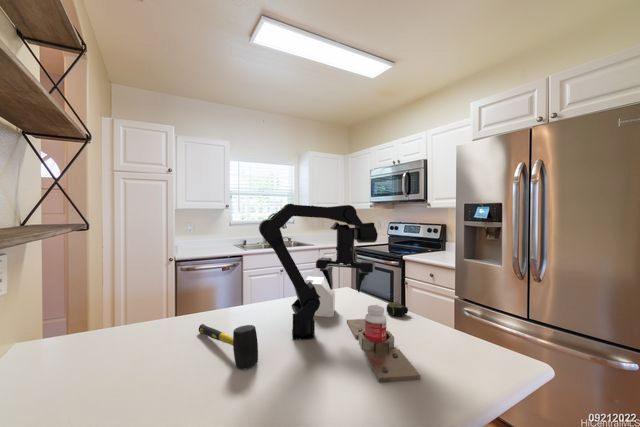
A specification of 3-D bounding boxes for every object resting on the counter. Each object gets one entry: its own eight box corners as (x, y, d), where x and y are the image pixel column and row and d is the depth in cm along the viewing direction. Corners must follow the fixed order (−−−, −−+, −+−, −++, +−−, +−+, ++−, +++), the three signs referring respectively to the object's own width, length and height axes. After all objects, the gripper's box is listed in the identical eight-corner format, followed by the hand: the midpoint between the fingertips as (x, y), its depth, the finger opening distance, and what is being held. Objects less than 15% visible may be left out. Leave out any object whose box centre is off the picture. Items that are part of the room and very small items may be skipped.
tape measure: (409, 316, 103) (409, 306, 103) (395, 319, 100) (395, 309, 100) (395, 310, 109) (396, 300, 109) (382, 312, 106) (382, 303, 106)
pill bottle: (385, 352, 76) (385, 312, 76) (363, 348, 78) (363, 310, 78) (386, 341, 82) (387, 305, 82) (366, 338, 84) (366, 303, 84)
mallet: (191, 336, 85) (191, 305, 85) (210, 330, 89) (210, 301, 89) (241, 375, 65) (242, 335, 65) (262, 365, 70) (263, 327, 70)
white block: (308, 305, 113) (308, 276, 113) (335, 306, 111) (335, 277, 111) (302, 315, 102) (303, 283, 102) (332, 317, 101) (333, 284, 101)
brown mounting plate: (420, 379, 64) (420, 366, 64) (379, 382, 63) (379, 369, 63) (374, 321, 97) (374, 313, 97) (346, 322, 96) (346, 314, 96)
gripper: (377, 241, 94) (376, 287, 94) (325, 239, 100) (325, 282, 100) (372, 245, 84) (372, 296, 84) (315, 243, 90) (315, 290, 90)
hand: (345, 290), depth 90 cm, fingers open, 9 cm apart
